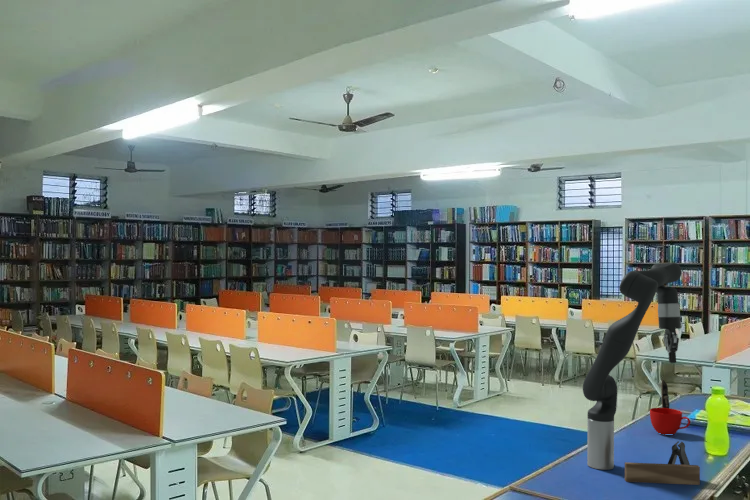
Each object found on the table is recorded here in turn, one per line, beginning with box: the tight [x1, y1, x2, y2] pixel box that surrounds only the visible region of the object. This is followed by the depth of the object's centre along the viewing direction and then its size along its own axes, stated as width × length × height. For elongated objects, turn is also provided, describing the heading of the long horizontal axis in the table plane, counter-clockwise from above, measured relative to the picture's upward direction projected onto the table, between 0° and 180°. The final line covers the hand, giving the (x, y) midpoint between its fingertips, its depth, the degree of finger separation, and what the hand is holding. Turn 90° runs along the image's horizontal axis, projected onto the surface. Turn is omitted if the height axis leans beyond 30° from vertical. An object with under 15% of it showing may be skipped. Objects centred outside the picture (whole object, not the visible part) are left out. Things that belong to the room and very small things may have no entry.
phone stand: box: [667, 440, 691, 465], centre depth 225 cm, size 9×6×12 cm, turn 52°
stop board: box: [624, 461, 701, 486], centre depth 220 cm, size 2×24×6 cm, turn 85°
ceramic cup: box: [649, 407, 691, 435], centre depth 283 cm, size 13×17×10 cm
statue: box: [660, 379, 670, 409], centre depth 307 cm, size 4×7×20 cm, turn 102°
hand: (672, 362), depth 240 cm, fingers closed
